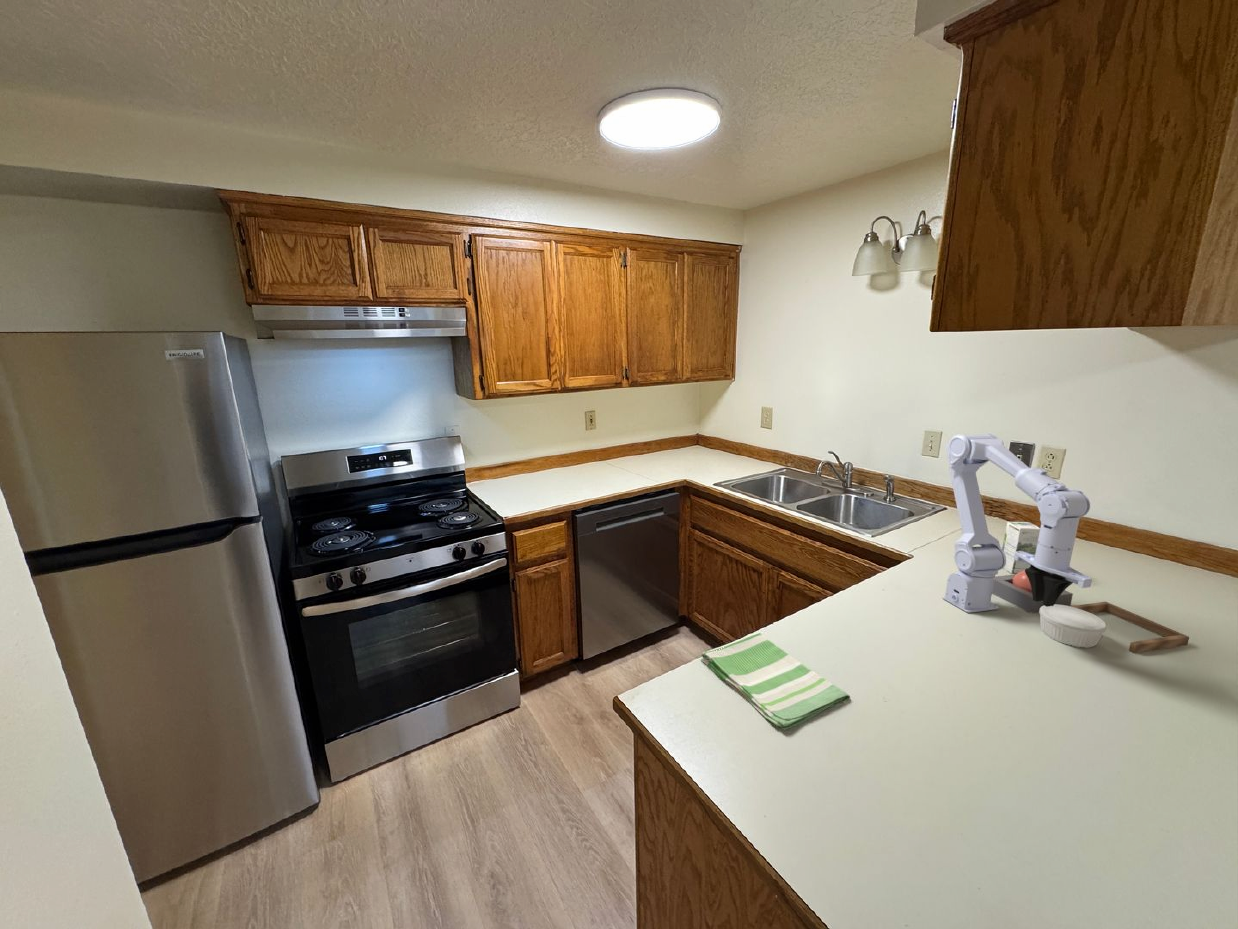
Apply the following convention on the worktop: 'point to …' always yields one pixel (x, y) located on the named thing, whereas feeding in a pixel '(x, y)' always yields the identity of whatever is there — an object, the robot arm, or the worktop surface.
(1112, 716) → the worktop surface
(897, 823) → the worktop surface
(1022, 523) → the syrup box
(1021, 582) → the salmon pink ball
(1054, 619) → the ramekin
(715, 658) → the dish towel
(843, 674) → the worktop surface
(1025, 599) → the base
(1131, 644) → the bent wooden slat
